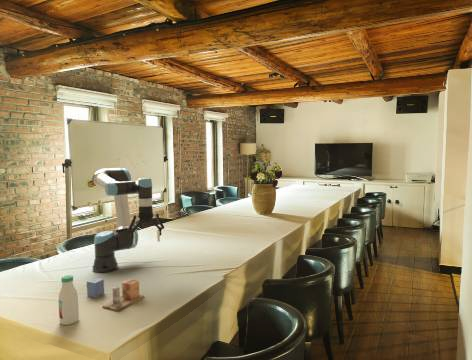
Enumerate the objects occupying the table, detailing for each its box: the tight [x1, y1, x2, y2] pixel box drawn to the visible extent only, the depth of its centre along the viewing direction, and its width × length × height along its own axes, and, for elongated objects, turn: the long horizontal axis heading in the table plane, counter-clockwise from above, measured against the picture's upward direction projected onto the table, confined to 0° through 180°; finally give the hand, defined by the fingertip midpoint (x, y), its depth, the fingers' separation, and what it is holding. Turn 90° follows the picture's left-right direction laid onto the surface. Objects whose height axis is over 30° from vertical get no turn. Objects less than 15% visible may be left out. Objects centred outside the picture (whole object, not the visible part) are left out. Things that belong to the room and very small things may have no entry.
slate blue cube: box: [86, 277, 105, 299], centre depth 184 cm, size 6×6×8 cm
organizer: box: [102, 278, 145, 313], centre depth 174 cm, size 10×18×9 cm, turn 155°
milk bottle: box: [58, 274, 80, 326], centre depth 155 cm, size 8×8×20 cm
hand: (146, 242), depth 201 cm, fingers open, 13 cm apart
